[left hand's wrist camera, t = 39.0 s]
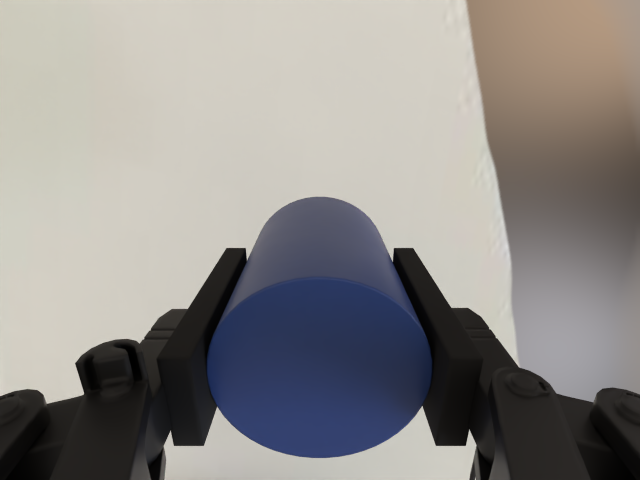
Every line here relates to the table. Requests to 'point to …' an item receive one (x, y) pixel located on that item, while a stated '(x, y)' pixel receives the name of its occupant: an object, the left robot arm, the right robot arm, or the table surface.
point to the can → (319, 337)
